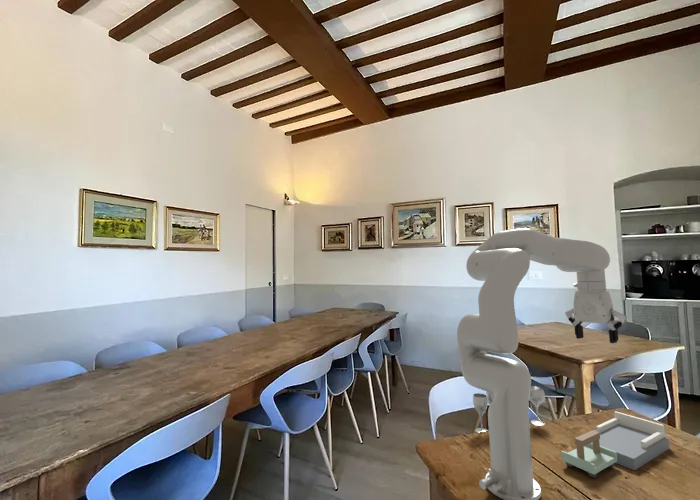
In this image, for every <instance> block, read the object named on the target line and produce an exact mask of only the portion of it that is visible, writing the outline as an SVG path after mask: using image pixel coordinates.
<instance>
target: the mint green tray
mask: <svg viewBox="0 0 700 500" xmlns="http://www.w3.org/2000/svg"><path fill="white" fill-rule="evenodd" d="M594 430H595V429H592V430H589V431H588V432H585V433H583V434H580V435H579V436H576V437H575V438H574V444H575V445H576V448H575V449H573V450H570V451H568V452H567V451H564V450H561V451H560V452H561V454H560V455H561V461H563V462H564V463H565V464H566V466H567V467H569V468H574V467H576V468H579V469H581V470H583V471H585V472H587V474H588V476H589V477H591V478H592V479H593V478H597V476H598V474H599V473H600V472H601V471H603V470H604V469H606V468H614V467H615V464H616V463H615V462H617V452H615V451H613V450H610V449H607V448H605V447H602V446H600V443H599V439H600V432H597V431H594ZM592 442H593V443H592Z"/></svg>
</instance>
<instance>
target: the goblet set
mask: <svg viewBox="0 0 700 500" xmlns="http://www.w3.org/2000/svg"><path fill="white" fill-rule="evenodd" d="M485 392H486V394H484V393H479V392H478V393H477V392H476V393H473V395H472V402H473V403H472V404H473V407H474V409H475V410H476V412H477V413H478V415H479V420H480V427H478V428H476V429H475V430H474V431H475V432H476V433H477V434H479V433H480V432H486V431H489V429H486V428H484V427H483V415H484V413H485V412H486V410H487V408H488V406H490V404H491V403H492V402H493V400H494V398H495V395H494V394H492V393H490V392H487V391H485ZM545 399H546V394H545V391H544V389H543V387H541V386H535V385H531V388H530V394H529V402H531V403H532V404H533V406H534V408H535V411H536V419H531V420H530V423H531V424H533V425H535V426H545V425H546V422H544V421H542V420H539V407H540V406H541V405H542V404H543V403H544V402H545ZM543 422H544V423H543ZM530 423H529V426H530V427H532V426H531V424H530Z"/></svg>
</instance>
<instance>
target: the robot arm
mask: <svg viewBox="0 0 700 500" xmlns="http://www.w3.org/2000/svg"><path fill="white" fill-rule="evenodd" d="M531 261H532V262H536V263H538V264H542V265H545V266H556V269H559V270H560V271H562V272H566V273H576V280H577V281H576V283H575V282H574V283H573V287H574V288H577V290H575V292H574V295H573V296H574V297H573V298H574V299H573V308H572V309H569V310H567V311H565V315H566V318H567V319H568V321H569V322H570V323H571V324H572V326H573V327H574V334H575V338H576V339H577V340H578V339H579V340H580V339H583V338H584V337H585V336H584V327H583V325H582V324H583V323H592V324H605V325H606V326H607V327H608V328H609V330H608V337H609V343H610V344H614V343H618V341H619V329H620V328H622V327H623V326H624V325H625V323H626V320H627V319H628V316H627V315H624V314H622V313H621V312H618V311H617V310H614V309H615V308H614V305H613V300H612V297H611V293H610V291H608V290H607V283H606V273H605V272H606V269H607V268H608V267H609V265H610V262H611V257H610V254H609V252H608V250H607V249H606V248H605V247H603V246H602V245H600V244H598V243H595V242H592V241H588V240H587V241H586V240H579V239H569V238H565V237H564V238H563V237H556V236H552V235H549V234H546V233H544V232H541V231H538V230H536V229H534V228H529V227H528V228H527V227H524V228H523V227H522V228H515V229H510V230H509V229H508V230H502V231H498V232H496V233H493V234H491V236H490V237H488V238H487V239H486V240H485V241H483V242H482V243H481V244H480V245H479V246H478V247H477V248H475V250H474V251H472V252H471V254H470V255H469V256H468V257H467V260H466V266H465V267H466V272H467V274H468V275H469V277H471V278H472V279H473V280H476V281H482V282H483V284H482V286H481V288H480V289H479V293H478V313H468V314H466V315H464V316H463V317H462V318H461V319H460V320H459V323H458V326H457V330H456V337H457V338H456V339H457V345H458V352H459V360H460V361H459V362H460V367H461V368H460V369H461V373H462V376H463V378H464V381H465V382H466V383H467V384H468V385H469V386H471V387H473V388H476V389H478V390H481V391H485V392H490V393H492V394H494V395H495V398H494V400H493V402H492V403H491V404H490V405H488V411H487V422H488V423H487V424H488V431H489V433H488V438H489V441H488V442H489V455H490V456H489V457H490V458H489V459H490V468H488V472H487V473H486V475H485V477H484V478H482V479H480V480H479V481H478V485H479V487H480V489H482V490H486V489H488V490H489V491H490V492H491V493H492V494H493V495H495V496H496V497H498V498H500V499H501V500H540V498H541V496H542V489H541V486H540V484H539V483H538V482H537V481H536V480H535V479H534V475H533V474H534V473H533V472H534V471H533V459H532V458H533V457H532V443H531V441H532V440H531V430H530V428H531V426H529V424H530V413H529V412H530V411H529V408H530V407H529V406H530V405H529V402H530V400H529V394H530V388H531V386H532V385H531V384H532V377H531V373H530V370H529V369H528V368H527V367H526V366H525V365H524V364H523V363H521V362H520V361H517V360H515V359H512V358H508V357H503V356H498V355H494V354H499V355H511V354H513V353H515V352H516V350H517V349H518V347H519V333H518V332H519V331H518V324H517V316H516V310H515V295H516V291H517V289H518V287H519V285H520V283H521V282H522V281H523V279H524V277H526V275H527V273H528V272H529V270H530V265H531ZM615 317H616V318H617V319H618V321H617V322H615ZM489 353H492V354H489Z"/></svg>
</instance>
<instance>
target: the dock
mask: <svg viewBox="0 0 700 500" xmlns="http://www.w3.org/2000/svg"><path fill="white" fill-rule="evenodd" d="M593 430H594V431H597V432H600V439H599V443H600V446H602V447H605V448H607V449H610V450H613V451H615V452H617V462H615V463H614V464H618V465H620V466H623V467H625V468H626V469H627V468H628V469H630V470H632V471H637V470H638V469H639V468H641V467H643V466H644V465H645V464H647V463H649V462H650V461H652V460H654V459H656V458H657V457H658V456H660V455H662V454H663V453H665V452H666V451H668V450H669V449H670V442H669V437H666V435H665V426H664V424H662V423H660V422H659V423H658V422H656V421H652V420H648V419H644V418H641V417H637V416H634V415H631V414H626V413H623V412H619V411H614V418H612V419H611V418H610V419H609V420H607V421H604V422H602V423H601V424H598V425H596V426H595V429H593ZM592 443H593V442H592Z"/></svg>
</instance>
